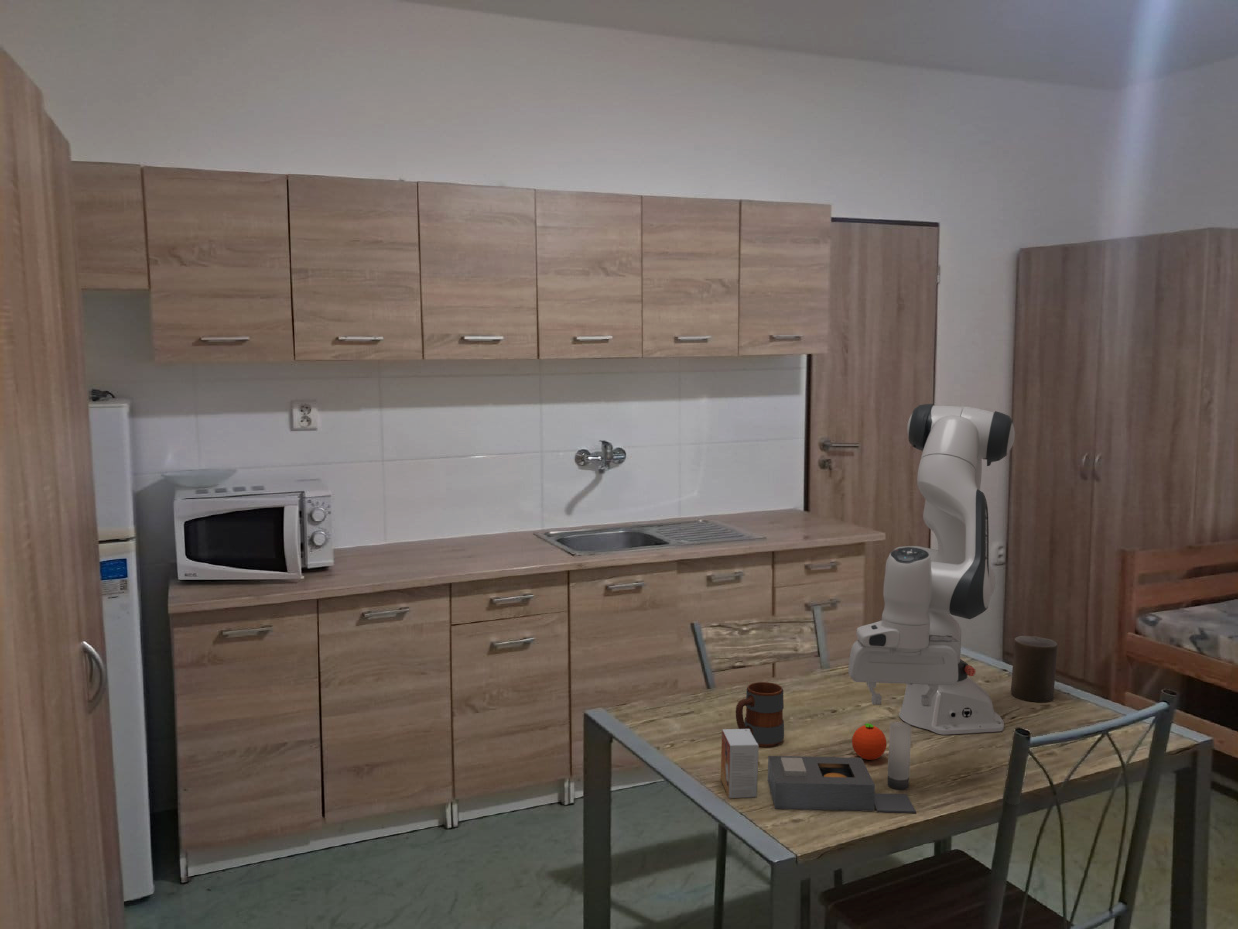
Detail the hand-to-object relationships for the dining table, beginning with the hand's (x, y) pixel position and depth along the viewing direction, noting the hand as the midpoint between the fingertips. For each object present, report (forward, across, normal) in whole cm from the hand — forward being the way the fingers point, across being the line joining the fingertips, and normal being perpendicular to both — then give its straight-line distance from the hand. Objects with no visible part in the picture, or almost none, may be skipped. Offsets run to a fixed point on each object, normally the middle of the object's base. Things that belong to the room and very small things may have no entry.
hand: (901, 704), depth 191 cm
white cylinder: (+16, 0, 0) cm, 16 cm away
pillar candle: (+15, -46, -52) cm, 71 cm away
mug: (+17, +25, -20) cm, 36 cm away
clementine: (+16, +3, -14) cm, 21 cm away
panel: (+17, +16, +4) cm, 23 cm away
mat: (+16, +3, +8) cm, 18 cm away
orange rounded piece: (+15, +13, +5) cm, 20 cm away
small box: (+17, +31, +2) cm, 35 cm away
